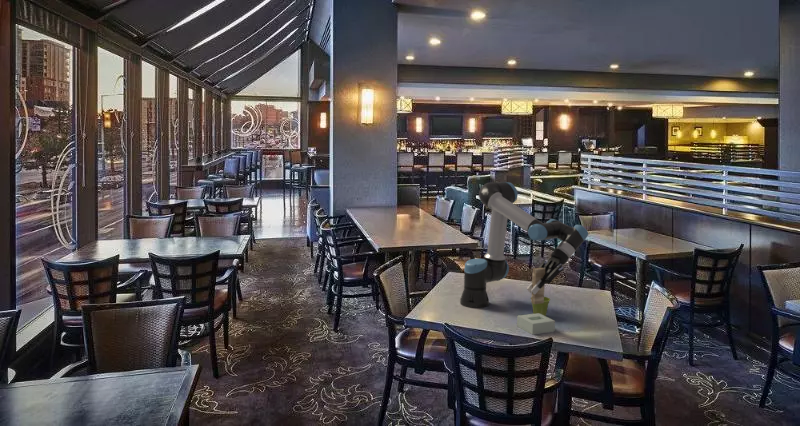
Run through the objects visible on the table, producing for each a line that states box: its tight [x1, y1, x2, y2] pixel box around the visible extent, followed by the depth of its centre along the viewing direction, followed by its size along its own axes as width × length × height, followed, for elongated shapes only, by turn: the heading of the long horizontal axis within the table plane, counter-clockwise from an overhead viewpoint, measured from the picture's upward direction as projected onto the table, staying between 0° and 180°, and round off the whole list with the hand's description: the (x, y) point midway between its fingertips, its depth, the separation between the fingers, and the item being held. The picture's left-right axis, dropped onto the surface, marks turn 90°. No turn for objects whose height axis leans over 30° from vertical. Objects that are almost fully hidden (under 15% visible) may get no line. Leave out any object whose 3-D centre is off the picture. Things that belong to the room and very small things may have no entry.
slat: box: [530, 267, 546, 304], centre depth 243 cm, size 2×5×16 cm, turn 112°
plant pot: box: [531, 296, 551, 317], centre depth 265 cm, size 9×9×9 cm
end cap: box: [516, 313, 556, 335], centre depth 245 cm, size 12×12×5 cm
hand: (530, 291), depth 242 cm, fingers closed on slat, 2 cm apart
